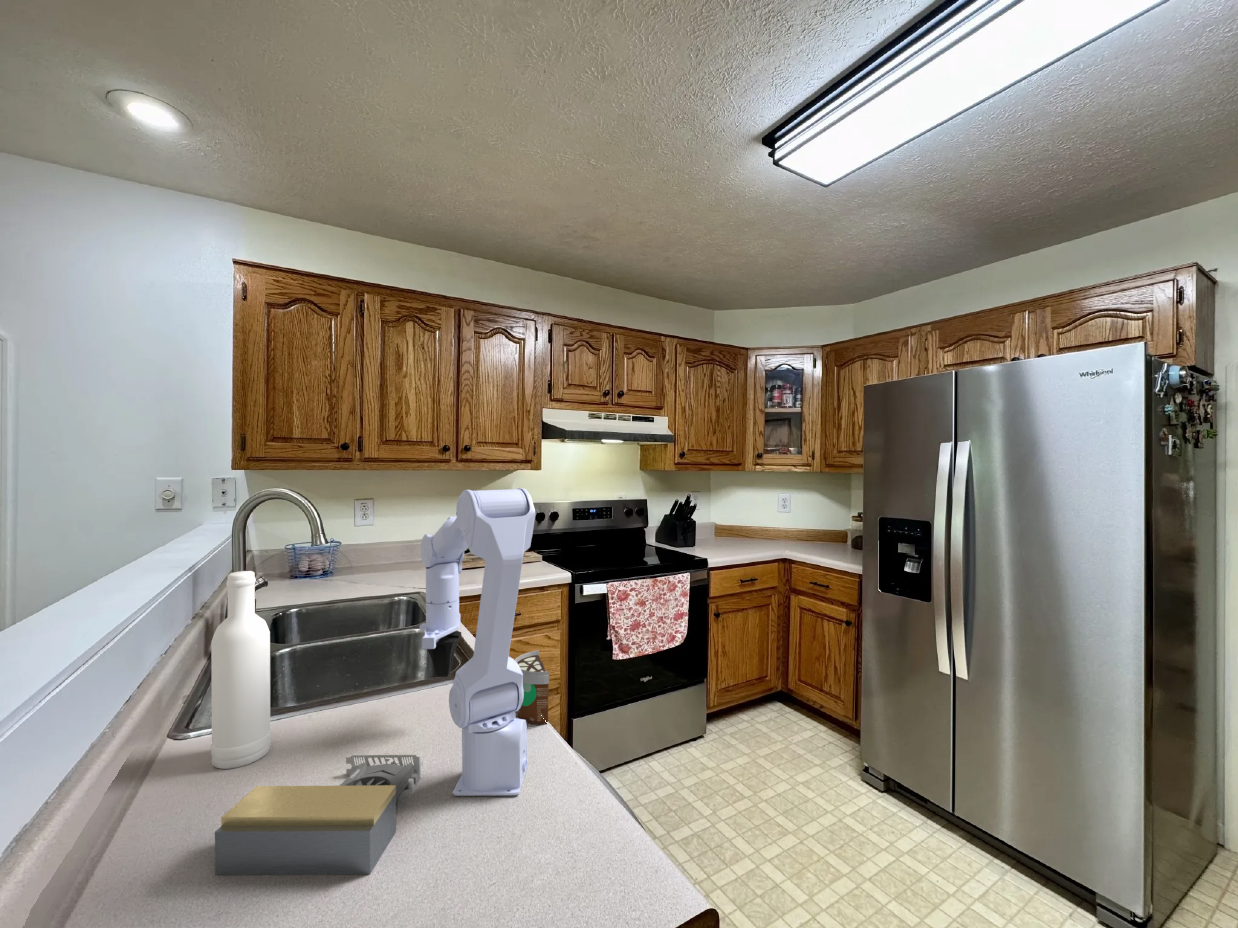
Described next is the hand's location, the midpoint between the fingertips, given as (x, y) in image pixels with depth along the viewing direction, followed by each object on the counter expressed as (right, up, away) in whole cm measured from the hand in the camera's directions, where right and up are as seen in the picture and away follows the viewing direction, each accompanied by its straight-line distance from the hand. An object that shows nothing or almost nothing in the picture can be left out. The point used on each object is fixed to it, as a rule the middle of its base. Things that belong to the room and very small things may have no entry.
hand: (443, 675), depth 95 cm
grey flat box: (-6, -9, -30) cm, 32 cm away
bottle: (-30, -10, -9) cm, 33 cm away
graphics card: (-5, -10, -22) cm, 24 cm away
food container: (+14, -10, +5) cm, 18 cm away
